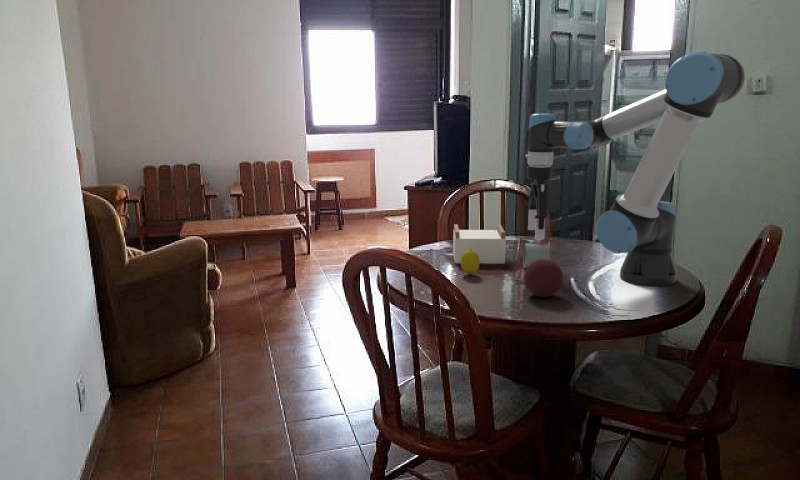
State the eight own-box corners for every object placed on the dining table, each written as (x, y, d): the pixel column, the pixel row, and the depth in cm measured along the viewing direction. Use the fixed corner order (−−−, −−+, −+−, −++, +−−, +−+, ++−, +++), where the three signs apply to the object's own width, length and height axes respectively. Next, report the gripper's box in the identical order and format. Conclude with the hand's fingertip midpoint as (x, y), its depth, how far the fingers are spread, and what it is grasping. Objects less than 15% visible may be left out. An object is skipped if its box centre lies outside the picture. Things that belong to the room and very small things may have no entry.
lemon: (456, 275, 187) (457, 249, 186) (468, 271, 191) (468, 246, 189) (471, 278, 184) (472, 252, 182) (482, 274, 188) (483, 248, 186)
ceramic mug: (552, 271, 191) (553, 246, 190) (524, 270, 192) (525, 246, 190) (547, 263, 202) (548, 239, 200) (521, 262, 202) (522, 239, 201)
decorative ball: (530, 288, 174) (532, 253, 172) (566, 293, 169) (568, 257, 167) (518, 298, 165) (519, 261, 163) (555, 304, 160) (557, 266, 158)
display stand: (505, 263, 200) (505, 232, 198) (454, 263, 201) (455, 232, 199) (500, 253, 214) (501, 224, 212) (453, 252, 215) (453, 224, 213)
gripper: (521, 161, 202) (518, 225, 207) (533, 170, 177) (529, 243, 182) (544, 161, 201) (541, 226, 206) (560, 170, 177) (555, 244, 182)
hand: (535, 234), depth 194 cm, fingers open, 13 cm apart
